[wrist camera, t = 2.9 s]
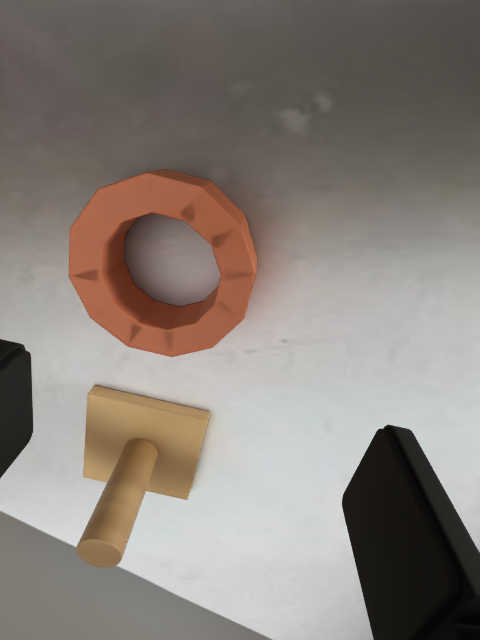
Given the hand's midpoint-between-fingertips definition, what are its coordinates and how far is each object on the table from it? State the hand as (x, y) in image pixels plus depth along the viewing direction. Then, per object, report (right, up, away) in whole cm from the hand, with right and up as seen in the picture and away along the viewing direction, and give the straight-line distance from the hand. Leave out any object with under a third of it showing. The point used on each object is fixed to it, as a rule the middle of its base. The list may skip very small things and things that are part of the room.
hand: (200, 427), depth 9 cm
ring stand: (-6, -6, +16) cm, 18 cm away
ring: (-3, +6, +10) cm, 12 cm away
